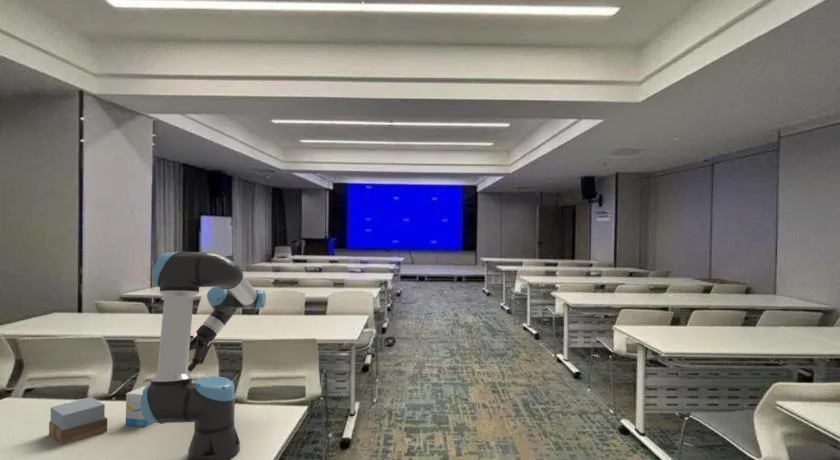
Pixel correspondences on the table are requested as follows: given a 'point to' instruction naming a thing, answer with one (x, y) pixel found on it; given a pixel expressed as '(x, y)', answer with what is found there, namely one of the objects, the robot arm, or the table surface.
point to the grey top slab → (77, 413)
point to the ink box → (135, 408)
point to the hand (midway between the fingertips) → (172, 374)
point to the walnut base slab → (77, 431)
